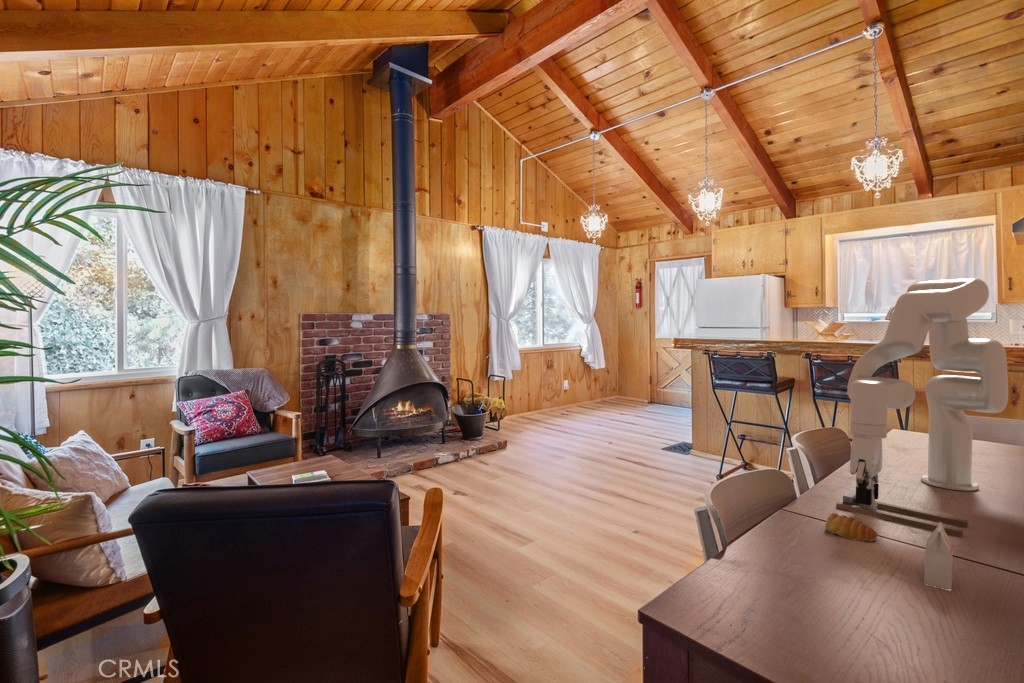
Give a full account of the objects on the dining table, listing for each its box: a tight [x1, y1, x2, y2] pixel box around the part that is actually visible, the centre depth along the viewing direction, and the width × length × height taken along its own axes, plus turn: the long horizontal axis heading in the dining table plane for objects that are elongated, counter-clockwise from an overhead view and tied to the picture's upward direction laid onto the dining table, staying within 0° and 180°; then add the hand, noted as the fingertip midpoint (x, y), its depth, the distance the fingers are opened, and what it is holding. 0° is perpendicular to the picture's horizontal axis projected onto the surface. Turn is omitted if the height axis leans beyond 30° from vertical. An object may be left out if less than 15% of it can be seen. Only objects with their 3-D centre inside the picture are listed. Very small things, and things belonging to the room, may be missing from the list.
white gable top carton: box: [923, 521, 954, 590], centre depth 92 cm, size 4×7×10 cm, turn 138°
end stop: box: [842, 490, 858, 506], centre depth 129 cm, size 6×2×3 cm, turn 132°
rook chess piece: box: [857, 478, 879, 511], centre depth 127 cm, size 4×4×8 cm
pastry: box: [824, 512, 878, 542], centre depth 112 cm, size 9×7×4 cm
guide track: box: [835, 500, 969, 538], centre depth 122 cm, size 9×24×1 cm, turn 41°
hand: (867, 500), depth 127 cm, fingers open, 5 cm apart
